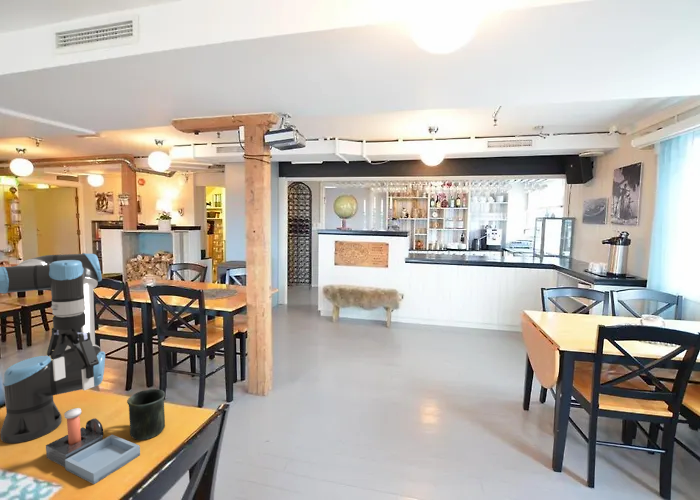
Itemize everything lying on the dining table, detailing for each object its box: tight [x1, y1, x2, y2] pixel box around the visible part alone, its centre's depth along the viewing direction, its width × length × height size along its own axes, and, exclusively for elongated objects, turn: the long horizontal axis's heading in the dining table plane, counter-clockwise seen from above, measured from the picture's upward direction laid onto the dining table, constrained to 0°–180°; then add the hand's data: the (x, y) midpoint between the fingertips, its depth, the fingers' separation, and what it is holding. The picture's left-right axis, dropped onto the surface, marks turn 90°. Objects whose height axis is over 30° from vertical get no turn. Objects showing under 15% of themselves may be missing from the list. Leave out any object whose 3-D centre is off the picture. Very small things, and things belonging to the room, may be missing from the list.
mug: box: [126, 388, 166, 441], centre depth 120 cm, size 11×15×12 cm
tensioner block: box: [45, 417, 105, 468], centre depth 109 cm, size 10×12×8 cm
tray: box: [64, 434, 141, 485], centre depth 104 cm, size 13×13×3 cm
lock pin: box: [64, 407, 82, 446], centre depth 108 cm, size 4×4×13 cm
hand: (73, 383), depth 107 cm, fingers open, 13 cm apart
